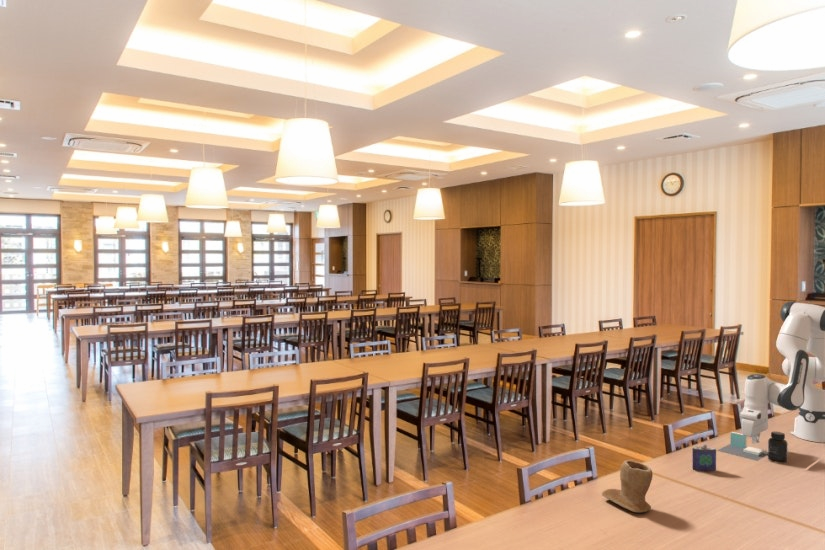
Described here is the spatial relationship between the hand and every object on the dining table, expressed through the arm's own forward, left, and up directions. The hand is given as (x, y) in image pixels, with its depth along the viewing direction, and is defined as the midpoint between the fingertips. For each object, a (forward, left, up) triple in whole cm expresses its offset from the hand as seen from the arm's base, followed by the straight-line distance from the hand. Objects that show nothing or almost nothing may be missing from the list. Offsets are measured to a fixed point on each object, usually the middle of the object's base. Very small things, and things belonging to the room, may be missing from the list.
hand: (755, 442), depth 241 cm
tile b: (-2, -8, -4) cm, 9 cm away
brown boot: (+92, -8, -5) cm, 92 cm away
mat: (+3, -4, -5) cm, 7 cm away
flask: (+38, -6, -5) cm, 39 cm away
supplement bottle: (+3, +9, -5) cm, 11 cm away
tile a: (-1, 0, -3) cm, 4 cm away
